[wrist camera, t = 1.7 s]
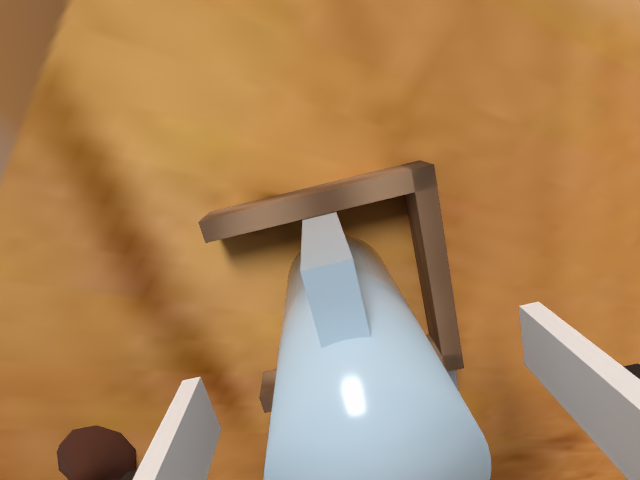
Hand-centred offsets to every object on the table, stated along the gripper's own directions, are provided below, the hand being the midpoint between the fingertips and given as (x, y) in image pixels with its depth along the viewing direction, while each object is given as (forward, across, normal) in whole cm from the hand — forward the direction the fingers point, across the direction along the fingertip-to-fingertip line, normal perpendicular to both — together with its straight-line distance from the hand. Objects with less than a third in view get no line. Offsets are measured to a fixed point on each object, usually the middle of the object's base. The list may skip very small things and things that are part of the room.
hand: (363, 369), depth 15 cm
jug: (+9, 0, +1) cm, 9 cm away
